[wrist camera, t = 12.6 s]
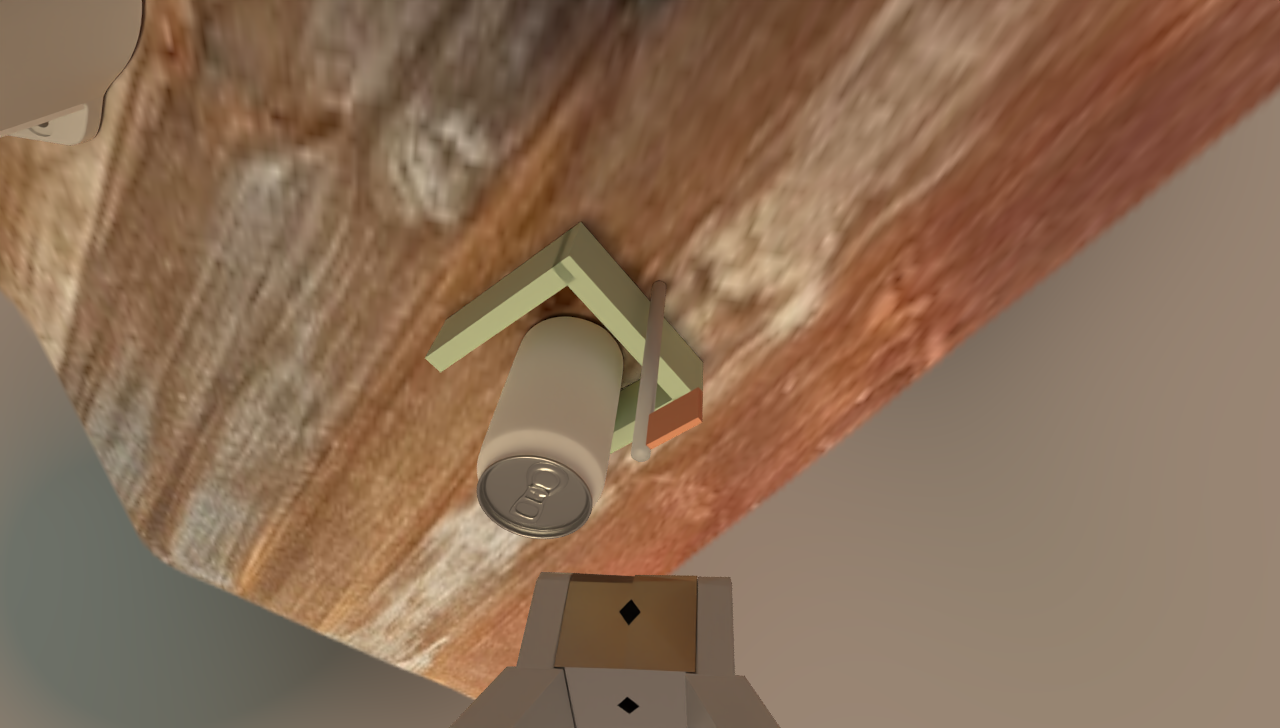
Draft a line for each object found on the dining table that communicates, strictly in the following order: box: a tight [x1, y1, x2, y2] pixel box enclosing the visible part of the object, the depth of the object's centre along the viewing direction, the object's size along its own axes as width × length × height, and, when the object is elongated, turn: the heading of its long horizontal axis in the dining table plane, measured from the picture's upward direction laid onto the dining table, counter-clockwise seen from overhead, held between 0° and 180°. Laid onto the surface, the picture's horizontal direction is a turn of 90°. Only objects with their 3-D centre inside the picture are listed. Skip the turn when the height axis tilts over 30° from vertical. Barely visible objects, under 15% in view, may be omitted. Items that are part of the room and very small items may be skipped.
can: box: [477, 317, 623, 539], centre depth 40 cm, size 6×6×12 cm
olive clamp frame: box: [425, 222, 703, 462], centre depth 38 cm, size 15×11×14 cm
